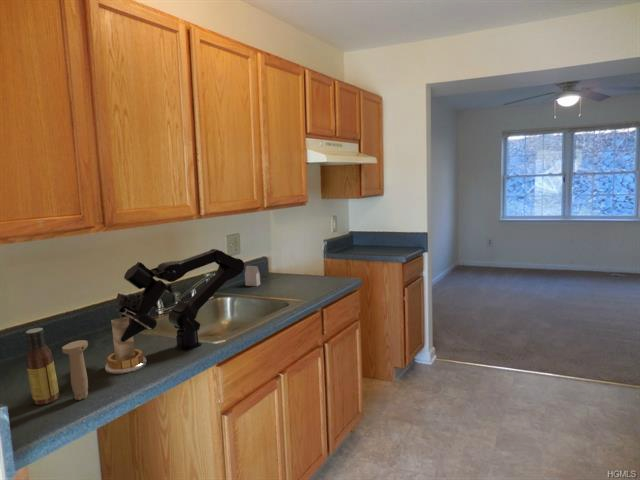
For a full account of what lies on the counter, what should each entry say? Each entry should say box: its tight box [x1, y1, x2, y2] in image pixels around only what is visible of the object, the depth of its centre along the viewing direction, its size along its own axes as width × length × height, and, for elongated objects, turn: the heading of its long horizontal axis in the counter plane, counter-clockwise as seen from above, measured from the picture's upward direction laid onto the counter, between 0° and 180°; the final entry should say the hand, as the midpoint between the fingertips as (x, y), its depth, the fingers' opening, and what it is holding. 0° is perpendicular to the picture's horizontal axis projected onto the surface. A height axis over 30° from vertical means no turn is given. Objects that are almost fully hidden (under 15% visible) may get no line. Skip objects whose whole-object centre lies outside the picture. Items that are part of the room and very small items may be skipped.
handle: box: [61, 339, 89, 401], centre depth 127 cm, size 5×6×15 cm
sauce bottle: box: [25, 327, 60, 406], centre depth 126 cm, size 7×6×20 cm
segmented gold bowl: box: [104, 348, 148, 375], centre depth 148 cm, size 12×12×4 cm
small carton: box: [244, 265, 261, 287], centre depth 247 cm, size 4×7×10 cm, turn 68°
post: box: [110, 317, 136, 360], centre depth 147 cm, size 4×4×13 cm
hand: (118, 339), depth 146 cm, fingers closed on post, 4 cm apart
